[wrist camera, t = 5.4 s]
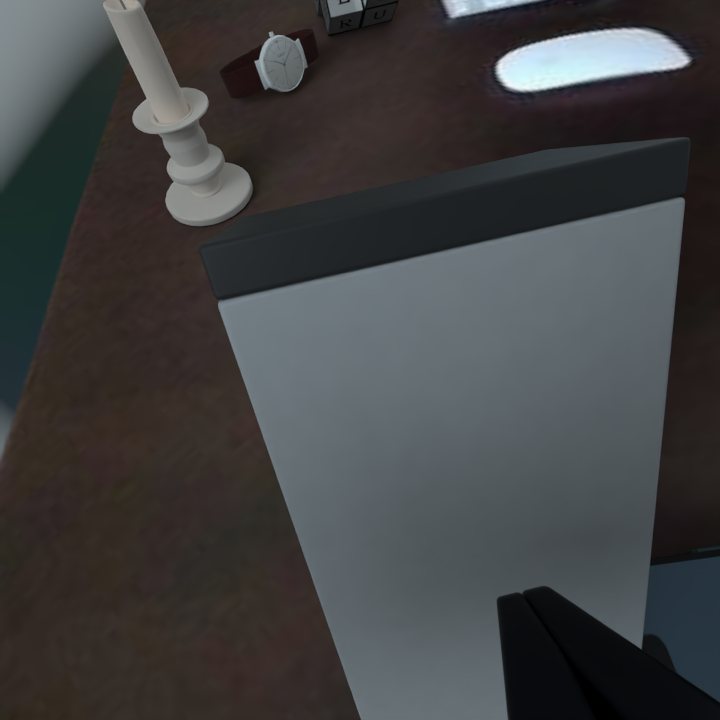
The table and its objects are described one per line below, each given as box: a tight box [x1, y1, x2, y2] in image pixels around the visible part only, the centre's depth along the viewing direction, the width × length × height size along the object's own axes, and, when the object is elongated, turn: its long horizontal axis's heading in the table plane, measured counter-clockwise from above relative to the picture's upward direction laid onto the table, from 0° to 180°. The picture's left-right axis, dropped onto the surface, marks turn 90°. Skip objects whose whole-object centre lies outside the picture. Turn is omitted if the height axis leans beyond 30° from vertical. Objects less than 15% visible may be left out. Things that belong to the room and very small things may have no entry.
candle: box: [103, 0, 253, 226], centre depth 22 cm, size 5×5×10 cm
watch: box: [220, 29, 319, 98], centre depth 31 cm, size 8×5×4 cm, turn 131°
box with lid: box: [199, 137, 691, 720], centre depth 10 cm, size 4×7×13 cm
